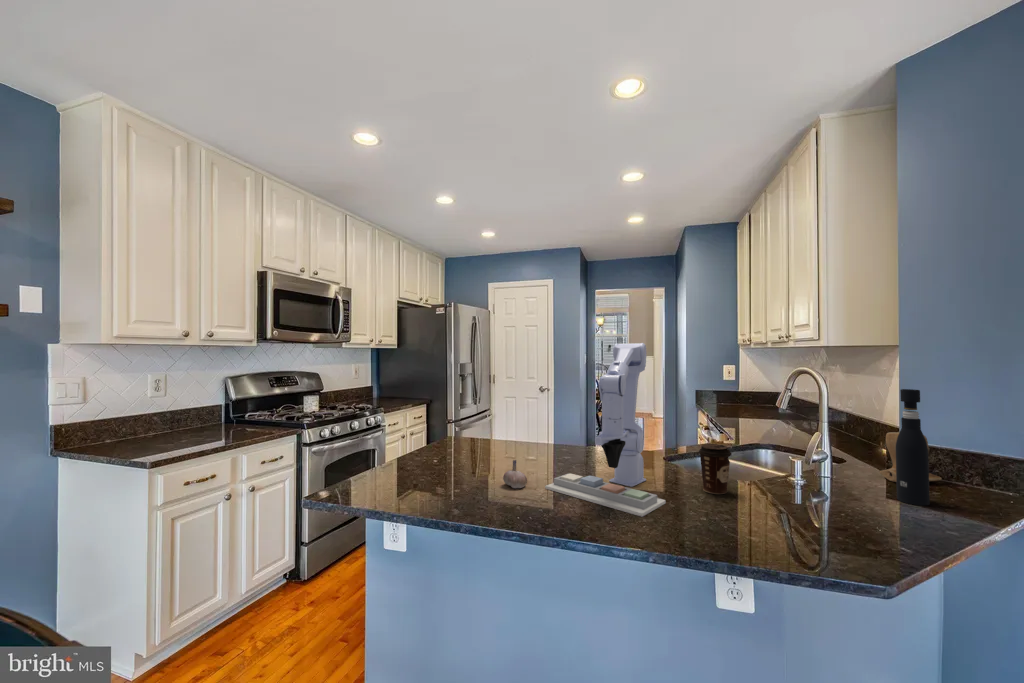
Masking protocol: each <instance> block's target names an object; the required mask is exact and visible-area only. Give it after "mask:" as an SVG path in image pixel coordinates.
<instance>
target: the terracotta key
mask: <svg viewBox="0 0 1024 683" xmlns="http://www.w3.org/2000/svg"><path fill="white" fill-rule="evenodd" d="M609 483H610V484H607V485H605V486H603V487H601V490H605V491H609V492H613V493H616V494H618V493H621V492H623V491H625V486H624V485H620V484H616V483H612V482H609Z"/></svg>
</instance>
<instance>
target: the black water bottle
mask: <svg viewBox="0 0 1024 683" xmlns="http://www.w3.org/2000/svg"><path fill="white" fill-rule="evenodd" d="M899 393H900V402H903V404H904V405H903V406H904V407H903V410H902V415H901V416H902V417H901V419H900V420H901V421H900V422H901V427H900V430H899V431H898V432H899V435H898V437H897V441H896V482H895V483H896V499H897V501H899V502H901V503H905V504H909V505H912V506H913V505H914V506H920V507H921V506H922V507H924V506H926V507H927V506H930V500H931V498H930V481H929V473H930V471H929V470H930V469H929V468H930V466H929V465H930V464H929V462H930V461H929V453H928V447H929V446H928V447H927V443H926V440H925V437H924V436H925V435H924V433H923V431H922V426H921V425H922V424H921V422H922V420H921V418H920V416H919V415H920V413H919V411H918V403H921V390H920V389H913V388H911V389H910V388H908V389H907V388H901V389H900V392H899Z"/></svg>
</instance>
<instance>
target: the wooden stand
mask: <svg viewBox="0 0 1024 683" xmlns="http://www.w3.org/2000/svg"><path fill="white" fill-rule="evenodd" d="M899 432H900V431H897V432H891V431H890V432H887V433H886V435H885V446H886V448H887V450H888V452H889V456H890V459H891V462H892V467H890V468H888V469H884V470H883V469H882V470H880V471H879V474H880V475H881V476H882V477H884V478H885V479H887V480H888V481H890V482H894V483H896V441H897V437H898V435H899ZM924 437H925V440H926V443H927V447H928V454H929V453H930V452H929V449H930V448H929V441H928V438H927V436H926V435H924ZM942 479H943V478H942V477H940V476H938V475H936V474H933V473H931V472H929V482H937V481H938V482H939V481H942Z"/></svg>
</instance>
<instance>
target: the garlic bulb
mask: <svg viewBox="0 0 1024 683" xmlns="http://www.w3.org/2000/svg"><path fill="white" fill-rule="evenodd" d="M502 476H503V477H502V480H503V482H504V483H505V485H508V486H509V487H511V488H512V489H522V488H524V487H525V486H526V485H527V483H528V478H527V476H526V474H525V473H523V472H521V471H520V470H517V459H513V460H512V469H511V470H507V471H506V472H505V473H504V474H503V475H502Z"/></svg>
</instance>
